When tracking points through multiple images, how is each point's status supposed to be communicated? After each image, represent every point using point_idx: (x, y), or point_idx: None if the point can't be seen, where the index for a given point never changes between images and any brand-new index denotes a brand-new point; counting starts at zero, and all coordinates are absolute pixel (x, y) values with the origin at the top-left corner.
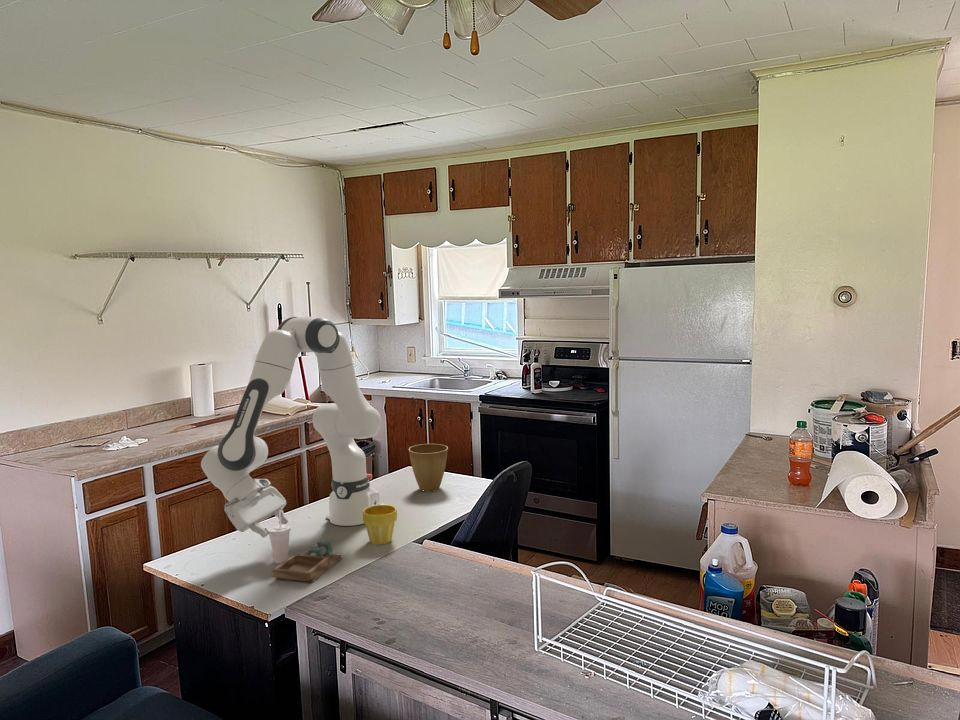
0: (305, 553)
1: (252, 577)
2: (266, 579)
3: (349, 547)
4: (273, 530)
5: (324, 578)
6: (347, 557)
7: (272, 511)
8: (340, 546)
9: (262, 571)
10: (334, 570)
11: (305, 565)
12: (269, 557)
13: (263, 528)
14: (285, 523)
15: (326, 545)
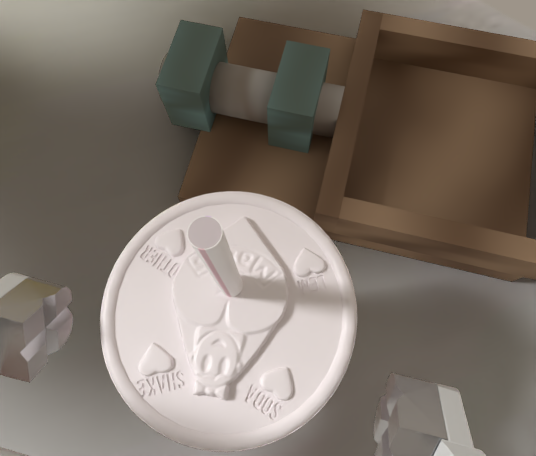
0: None
1: (516, 443)
2: (531, 336)
3: (98, 27)
4: (302, 351)
5: None
6: (229, 9)
7: (6, 449)
8: (76, 69)
9: None
10: None
11: (379, 149)
12: None
13: (449, 446)
14: (62, 291)
15: (220, 46)
